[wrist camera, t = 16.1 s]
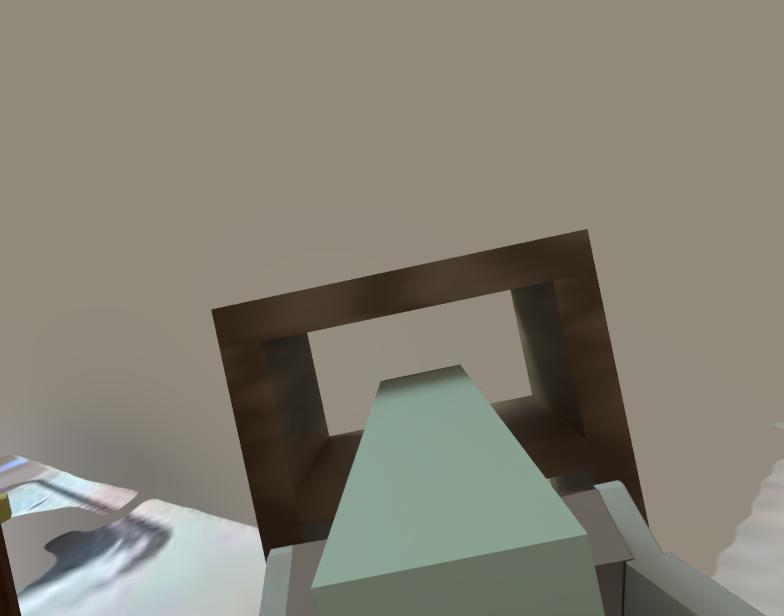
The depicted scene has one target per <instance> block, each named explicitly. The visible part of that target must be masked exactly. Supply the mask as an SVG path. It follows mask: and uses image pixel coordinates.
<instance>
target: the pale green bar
mask: <svg viewBox="0 0 784 616" xmlns="http://www.w3.org/2000/svg"><path fill="white" fill-rule="evenodd" d="M311 591H312V596H313V601H314V605H315V610H316V614H317V616H605V613H604V608H603V604H602V599H601V594H600V590H599V585H598V580H597V575H596V571H595V566H594V561H593V556H592V552H591V547H590V542H589V538H588V534H587V532H586V531H585V530H584V528H583V527H582V526H581V524H580V523H579V522H578V520H577V519H576V518H575V516H574V515H573V514H572V512H571V511H570V510H569V508H568V507H567V506H566V505H565V503H564V502H563V501H562V499H561V498H560V497H559V495H558V494H557V493H556V491H555V490H554V489H553V487H552V486H551V485H550V483H549V482H548V481H547V479H546V478H545V477H544V475H543V474H542V473H541V471H540V470H539V469H538V467H537V466H536V465H535V463H534V462H533V461H532V459H531V458H530V457H529V455H528V454H527V453H526V451H525V450H524V449H523V448H522V446H521V445H520V444H519V442H518V441H517V440H516V438H515V437H514V436H513V434H512V433H511V432H510V430H509V429H508V428H507V426H506V425H505V424H504V422H503V421H502V420H501V418H500V417H499V416H498V414H497V413H496V412H495V410H494V409H493V408H492V406H491V405H490V404H489V402H488V401H487V400H486V398H485V397H484V396H483V394H482V393H481V392H480V391H479V389H478V388H477V387H476V385H475V384H474V383H473V381H472V380H471V379H470V377H469V376H468V375H467V373H466V372H465V371H464V369H463V368H462V367H461V365H456V366H451V367H446V368H441V369H436V370H432V371H427V372H422V373H417V374H413V375H408V376H403V377H398V378H394V379H389V380H384V381H381V382H380V386H379V389H378V392H377V395H376V397H375V401H374V403H373V406H372V409H371V412H370V415H369V418H368V421H367V424H366V427H365V430H364V433H363V436H362V439H361V442H360V445H359V448H358V451H357V453H356V456H355V459H354V462H353V465H352V468H351V471H350V474H349V477H348V480H347V483H346V486H345V489H344V492H343V495H342V498H341V501H340V504H339V507H338V510H337V513H336V516H335V519H334V521H333V524H332V527H331V530H330V533H329V536H328V539H327V542H326V545H325V548H324V551H323V554H322V557H321V560H320V563H319V566H318V569H317V572H316V575H315V578H314V581H313V584H312V587H311Z"/></svg>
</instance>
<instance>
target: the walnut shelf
mask: <svg viewBox="0 0 784 616" xmlns="http://www.w3.org/2000/svg"><path fill="white" fill-rule="evenodd" d="M506 290H511V295H512V300H513V304H514V309H515V314H516V318H517V324H518V328H519V333H520V338H521V343H522V348H523V352H524V357H525V362H526V366H527V371H528V376H529V381H530V386H531V391H532V396H527V397H522V398H517V399H512V400H507V401H502V402H497V403H492V404H490V405H491V406H492V408H493V409H494V410H495V412H496V413H497V414H498V416H499V417H500V418H501V420H502V421H503V422H504V424H505V425H506V426H507V428H508V429H509V430H510V432H511V433H512V434H513V436H514V437H515V438H516V440H517V441H518V442H519V444H520V445H521V446H522V448H523V449H524V450H525V451H526V453H527V454H528V455H529V457H530V458H531V459H532V461H533V462H534V463H535V465H536V466H537V467H538V469H539V470H540V471H541V473H542V474H543V475H544V477H545V478H546V479H548V478H550V481H551V486H552V487H553V489H554V490H555V491H556V493H557V492H562V491H566V490H571V489H575V488H580V487H585V486H589V485H592V486H594V485H598V484H603V483H607V482H612V481H617V480H618V481H620V482H621V483H623V484H624V486H625V487H626V489H627V491H628V493H629V494H630V496H631V498H632V500H633V501H634V503H635V505H636V507H637V508H638V510H639V512H640V513H641V515H642V517H643V519H644V520H645V522H646V524H647V526H648V527H649V524H648V520H647V515H646V510H645V505H644V500H643V495H642V491H641V486H640V481H639V476H638V471H637V467H636V462H635V457H634V452H633V448H632V442H631V438H630V433H629V428H628V423H627V418H626V413H625V409H624V404H623V399H622V394H621V389H620V384H619V380H618V375H617V370H616V365H615V360H614V355H613V351H612V346H611V341H610V336H609V331H608V327H607V322H606V317H605V312H604V307H603V302H602V298H601V293H600V288H599V283H598V279H597V274H596V269H595V264H594V259H593V254H592V249H591V245H590V240H589V235H588V230H587V229H585V230H581V231H576V232H571V233H567V234H563V235H558V236H553V237H548V238H543V239H539V240H534V241H530V242H525V243H520V244H515V245H511V246H506V247H501V248H497V249H493V250H487V251H483V252H478V253H473V254H469V255H465V256H460V257H455V258H450V259H445V260H441V261H436V262H432V263H427V264H422V265H417V266H413V267H408V268H404V269H399V270H394V271H390V272H385V273H380V274H375V275H371V276H366V277H361V278H357V279H352V280H347V281H343V282H338V283H333V284H329V285H324V286H319V287H315V288H310V289H305V290H300V291H296V292H291V293H287V294H282V295H277V296H272V297H268V298H263V299H259V300H254V301H249V302H244V303H240V304H235V305H230V306H226V307H222V308H217V309H212V315H213V320H214V324H215V329H216V334H217V338H218V343H219V347H220V352H221V357H222V361H223V366H224V371H225V375H226V380H227V385H228V389H229V393H230V399H231V403H232V408H233V412H234V417H235V421H236V426H237V431H238V435H239V440H240V445H241V450H242V454H243V459H244V463H245V468H246V473H247V477H248V482H249V487H250V491H251V496H252V500H253V505H254V510H255V514H256V519H257V524H258V528H259V533H260V538H261V542H262V547H263V551H264V556H265V561H266V564H267V558H268V556H269V553H270V551H271V549H276V548H281V547H286V546H291V545H297V544H303V543H309V542H314V541H320V540H325V539H328V536H329V533H330V530H331V527H332V524H333V521H334V519H335V516H336V513H337V510H338V507H339V504H340V501H341V498H342V495H343V492H344V489H345V486H346V483H347V480H348V477H349V474H350V471H351V468H352V465H353V462H354V459H355V456H356V453H357V451H358V448H359V445H360V442H361V439H362V436H363V433H364V430H365V429H364V430H359V431H354V432H349V433H344V434H339V435H335V436H329V433H328V429H327V424H326V419H325V414H324V410H323V405H322V400H321V396H320V391H319V386H318V382H317V377H316V372H315V368H314V364H313V358H312V354H311V349H310V344H309V340H308V335H307V332H312V331H316V330H321V329H326V328H331V327H335V326H340V325H344V324H350V323H354V322H359V321H364V320H368V319H373V318H378V317H383V316H387V315H392V314H397V313H402V312H406V311H411V310H416V309H421V308H425V307H430V306H435V305H439V304H444V303H449V302H454V301H458V300H463V299H468V298H473V297H477V296H482V295H487V294H491V293H496V292H501V291H506Z"/></svg>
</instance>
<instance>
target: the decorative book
mask: <svg viewBox="0 0 784 616" xmlns="http://www.w3.org/2000/svg"><path fill="white" fill-rule="evenodd" d="M11 515H12V512H11V508H10V503H9V499H8V494H0V616H21V613H20V608H19V604H18V599H17V595H16V590H15V586H14V581H13V576H12V572H11V567H10V563H9V558H8V555H7V549H6V545H5V540H4V536H3V531H2V527H1V523H3V522H5V521H7V520H9V519H10V518H11Z"/></svg>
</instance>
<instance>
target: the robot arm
mask: <svg viewBox="0 0 784 616" xmlns="http://www.w3.org/2000/svg"><path fill="white" fill-rule="evenodd" d="M557 494H558V495H559V497H560V498H561V499H562V501H563V502H564V503H565V505H566V506H567V507H568V508H569V510H570V511H571V512H572V514H573V515H574V516H575V518H576V519H577V520H578V522H579V523H580V524H581V526H582V527H583V528H584V530H585V531H586V532H587V534H588V538H589V542H590V547H591V552H592V556H593V561H594V566H595V571H596V575H597V580H598V585H599V590H600V594H601V599H602V604H603V608H604V613H605V616H766V615H764V614H763V613H761V612H760V611H758V610H757V609H755V608H754V607H752V606H751V605H749V604H748V603H746V602H745V601H743V600H742V599H740V598H739V597H737V596H736V595H734V594H733V593H731V592H730V591H728V590H727V589H725V588H724V587H722V586H721V585H719V584H718V583H716V582H715V581H713V580H712V579H710V578H709V577H707V576H706V575H704V574H703V573H701V572H700V571H698V570H697V569H695V568H694V567H692V566H691V565H689V564H688V563H686V562H685V561H683V560H682V559H680V558H679V557H677V556H676V555H674V554H673V553H667V554H664V553H663V552H662V550H661V548H660V547H659V545H658V543H657V541H656V540H655V538H654V536H653V535H652V533H651V531H650V529H649V527H648V526H647V524H646V522H645V520H644V519H643V517H642V515H641V513H640V512H639V510H638V508H637V507H636V505H635V503H634V501H633V500H632V498H631V496H630V494H629V493H628V491H627V489H626V487H625V486H624V484H623V483H621V482H620V481H618V480H617V481H612V482H607V483H603V484H598V485H594V486H592V485H589V486H585V487H580V488H575V489H571V490H566V491H562V492H557ZM326 542H327V539H325V540H320V541H314V542H309V543H303V544H297V545H291V546H286V547H281V548H276V549H271V551H270V553H269V556H268V558H267V564H266V571H265V579H264V586H263V593H262V600H261V607H260V615H259V616H317V614H316V610H315V605H314V601H313V596H312V591H311V587H312V584H313V581H314V578H315V575H316V572H317V569H318V566H319V563H320V560H321V557H322V554H323V551H324V548H325V545H326Z"/></svg>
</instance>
